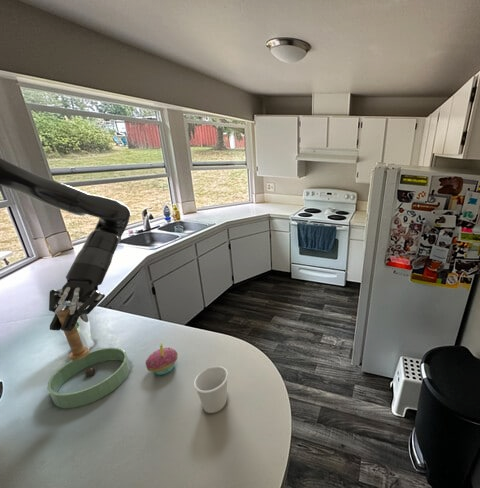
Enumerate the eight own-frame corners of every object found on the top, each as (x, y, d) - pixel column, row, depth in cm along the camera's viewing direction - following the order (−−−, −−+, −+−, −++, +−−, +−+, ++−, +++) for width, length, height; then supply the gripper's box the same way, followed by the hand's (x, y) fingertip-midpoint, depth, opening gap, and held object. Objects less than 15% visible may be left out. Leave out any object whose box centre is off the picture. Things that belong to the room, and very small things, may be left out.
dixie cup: (207, 426, 64) (202, 398, 61) (193, 406, 69) (188, 378, 66) (237, 404, 70) (234, 377, 67) (222, 386, 75) (218, 360, 72)
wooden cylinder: (67, 362, 66) (49, 318, 61) (72, 352, 69) (55, 309, 64) (87, 357, 67) (71, 313, 63) (91, 347, 71) (76, 305, 66)
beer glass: (92, 339, 92) (80, 304, 87) (100, 346, 89) (88, 311, 83) (66, 351, 86) (52, 314, 81) (74, 359, 83) (60, 322, 78)
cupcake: (185, 367, 82) (179, 337, 78) (157, 386, 75) (149, 354, 71) (170, 356, 86) (163, 327, 82) (143, 373, 79) (134, 343, 75)
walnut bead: (85, 379, 75) (83, 373, 74) (87, 373, 77) (85, 367, 76) (95, 376, 76) (93, 370, 76) (97, 370, 78) (95, 364, 78)
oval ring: (42, 421, 64) (34, 406, 62) (66, 372, 78) (61, 358, 76) (125, 394, 72) (121, 379, 70) (134, 353, 86) (130, 341, 84)
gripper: (54, 260, 67) (16, 327, 60) (104, 262, 67) (73, 330, 59) (79, 269, 74) (48, 330, 66) (125, 271, 73) (99, 333, 66)
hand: (60, 330), depth 63 cm, fingers closed on wooden cylinder, 2 cm apart
